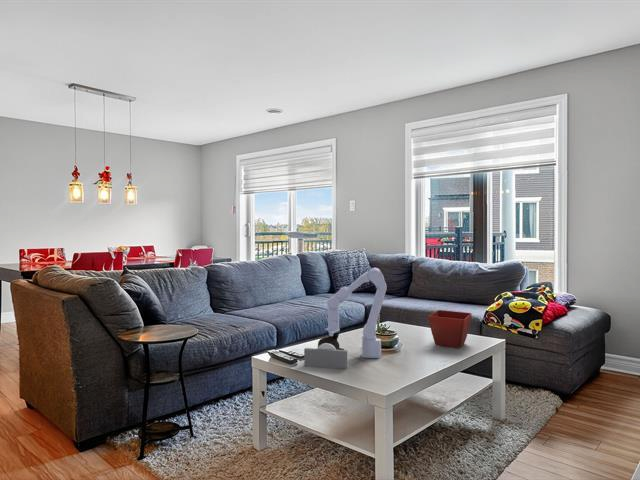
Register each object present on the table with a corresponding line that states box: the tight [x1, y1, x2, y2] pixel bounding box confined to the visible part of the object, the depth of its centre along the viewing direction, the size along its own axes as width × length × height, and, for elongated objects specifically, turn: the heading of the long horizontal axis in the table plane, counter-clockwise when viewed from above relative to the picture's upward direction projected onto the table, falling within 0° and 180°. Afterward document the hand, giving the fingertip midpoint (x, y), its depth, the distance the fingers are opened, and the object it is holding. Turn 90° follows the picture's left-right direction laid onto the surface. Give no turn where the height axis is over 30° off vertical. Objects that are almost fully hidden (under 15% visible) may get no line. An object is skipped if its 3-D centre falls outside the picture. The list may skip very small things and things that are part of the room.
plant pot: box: [428, 309, 473, 349], centre depth 254 cm, size 19×19×17 cm
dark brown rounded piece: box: [317, 336, 345, 350], centre depth 227 cm, size 10×15×15 cm
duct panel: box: [303, 343, 348, 370], centre depth 216 cm, size 20×3×10 cm, turn 78°
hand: (333, 347), depth 235 cm, fingers closed
